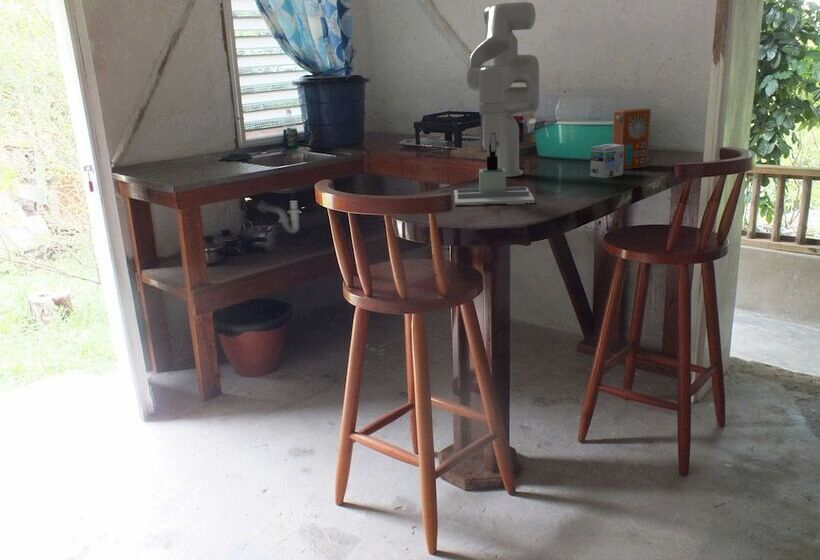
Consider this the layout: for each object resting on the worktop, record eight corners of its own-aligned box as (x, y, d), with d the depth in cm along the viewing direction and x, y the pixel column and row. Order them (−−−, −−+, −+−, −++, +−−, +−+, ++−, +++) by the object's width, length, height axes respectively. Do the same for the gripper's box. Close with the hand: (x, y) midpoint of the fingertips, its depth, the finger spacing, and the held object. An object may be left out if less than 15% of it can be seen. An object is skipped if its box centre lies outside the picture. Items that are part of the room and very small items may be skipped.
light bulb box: (604, 178, 242) (605, 147, 239) (589, 176, 248) (590, 146, 244) (623, 174, 248) (625, 144, 245) (608, 172, 254) (609, 143, 250)
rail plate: (454, 193, 229) (453, 185, 229) (526, 190, 228) (527, 183, 227) (455, 206, 210) (454, 197, 210) (534, 203, 209) (534, 195, 208)
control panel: (651, 166, 262) (618, 170, 257) (639, 164, 268) (607, 168, 263) (654, 108, 255) (621, 111, 250) (642, 107, 262) (609, 110, 256)
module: (479, 190, 221) (479, 167, 219) (504, 189, 221) (504, 166, 218) (480, 194, 217) (479, 171, 214) (505, 193, 216) (505, 170, 214)
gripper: (478, 108, 218) (478, 166, 223) (480, 111, 203) (481, 173, 209) (502, 107, 217) (502, 165, 223) (506, 110, 203) (506, 172, 208)
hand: (492, 169), depth 216 cm, fingers closed
